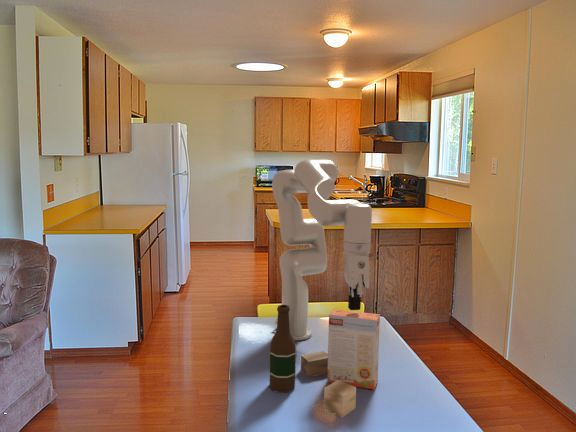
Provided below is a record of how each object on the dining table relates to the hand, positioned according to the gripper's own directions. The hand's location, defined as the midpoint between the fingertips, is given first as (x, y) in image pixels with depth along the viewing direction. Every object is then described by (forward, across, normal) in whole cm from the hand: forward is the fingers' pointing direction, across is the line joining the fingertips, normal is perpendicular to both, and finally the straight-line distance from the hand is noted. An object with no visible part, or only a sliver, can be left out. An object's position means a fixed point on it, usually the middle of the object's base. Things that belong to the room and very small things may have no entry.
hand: (354, 309), depth 144 cm
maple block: (+22, -15, +7) cm, 28 cm away
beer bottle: (+22, -1, +21) cm, 30 cm away
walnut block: (+22, +7, +9) cm, 25 cm away
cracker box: (+22, -1, 0) cm, 22 cm away
